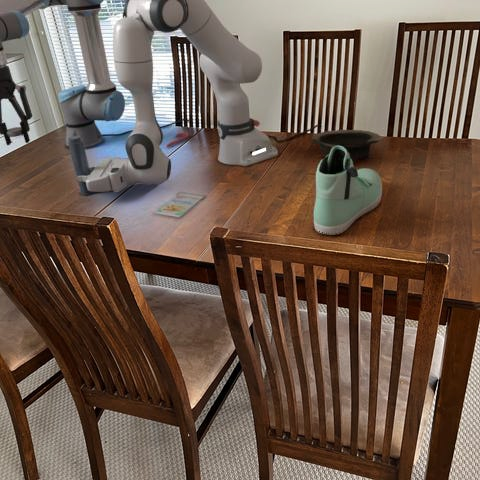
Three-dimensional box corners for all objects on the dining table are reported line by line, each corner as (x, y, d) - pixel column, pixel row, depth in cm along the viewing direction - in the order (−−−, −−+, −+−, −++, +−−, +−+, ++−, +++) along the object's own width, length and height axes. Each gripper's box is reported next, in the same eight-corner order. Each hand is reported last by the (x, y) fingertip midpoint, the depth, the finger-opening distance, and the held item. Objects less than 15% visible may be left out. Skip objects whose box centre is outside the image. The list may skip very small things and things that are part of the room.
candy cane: (157, 146, 195) (156, 142, 195) (181, 134, 206) (181, 131, 205) (168, 148, 192) (167, 144, 192) (192, 136, 202) (191, 132, 202)
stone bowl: (339, 174, 158) (339, 147, 154) (298, 157, 178) (296, 133, 174) (397, 156, 167) (398, 130, 163) (351, 141, 187) (350, 118, 183)
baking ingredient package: (153, 211, 144) (180, 191, 155) (154, 213, 144) (180, 193, 156) (178, 216, 140) (203, 195, 152) (178, 217, 141) (204, 197, 152)
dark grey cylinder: (88, 196, 159) (74, 140, 149) (78, 193, 161) (63, 139, 151) (97, 190, 162) (84, 135, 152) (88, 188, 164) (74, 134, 154)
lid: (9, 132, 153) (7, 128, 153) (26, 130, 154) (24, 126, 153) (5, 137, 149) (3, 133, 148) (22, 135, 150) (21, 131, 149)
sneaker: (389, 187, 148) (396, 123, 138) (356, 242, 123) (361, 168, 112) (346, 181, 154) (350, 119, 144) (306, 232, 129) (307, 161, 118)
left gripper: (-42, 72, 137) (-15, 150, 149) (23, 66, 139) (45, 143, 151) (-34, 67, 143) (-8, 142, 155) (29, 61, 145) (49, 135, 157)
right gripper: (127, 151, 165) (87, 153, 165) (112, 175, 147) (68, 178, 148) (130, 168, 168) (92, 170, 169) (116, 194, 150) (73, 196, 151)
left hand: (18, 142), depth 153 cm, fingers closed on lid, 5 cm apart
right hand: (81, 174), depth 158 cm, fingers closed on dark grey cylinder, 4 cm apart
